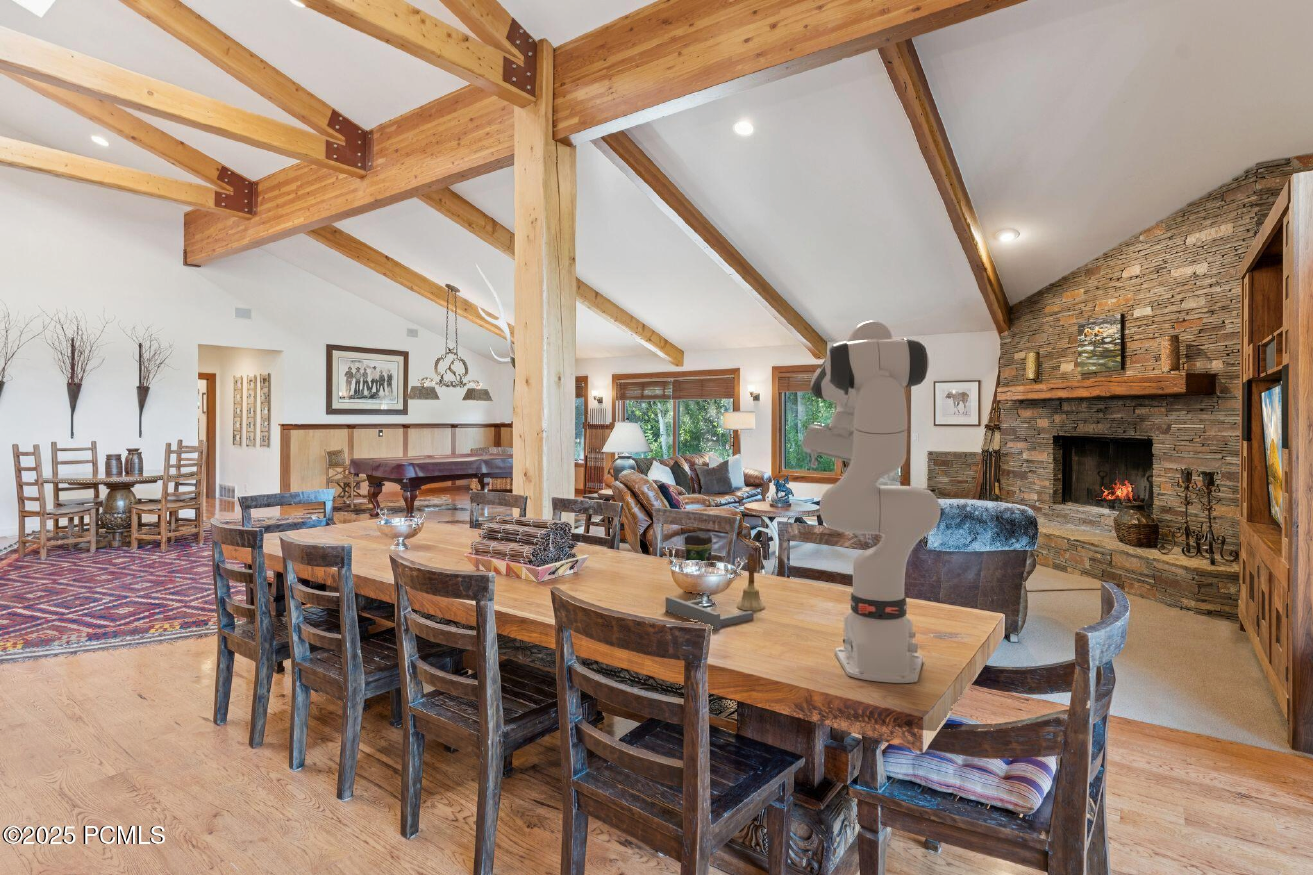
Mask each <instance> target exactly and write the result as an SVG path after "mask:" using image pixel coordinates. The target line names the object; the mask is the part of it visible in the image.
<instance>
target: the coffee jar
mask: <svg viewBox="0 0 1313 875" xmlns="http://www.w3.org/2000/svg"><path fill="white" fill-rule="evenodd" d="M712 538H713V537H712V534H711V533H710V532H709V531H702V530H701V531H699V530H698V531H696V532H692V533H689V534H687V535H685V536H684V550H685V553H684V554H685V561H686V560H701V561H711V562H712V563H713V561H712V558H713V557H712V551H713V550H712V548H713V539H712Z"/></svg>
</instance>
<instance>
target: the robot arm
mask: <svg viewBox="0 0 1313 875" xmlns="http://www.w3.org/2000/svg"><path fill="white" fill-rule="evenodd" d="M929 358H930V357H929V354H928V351H927V348H926V347H925V345H924V344H922V342H920V341H918V340H914V339H909V338H906V337H902V338H901V339H899V338H898V339H895V338H894V339H893V336H892V332H891V330H890V329H889V328H888V326H887V325H886V324H884V323H883V322H879V321H876V320H869V321H864V322H862V323H860V324H858V325H857V326H856V327H855V328H854V330H853V331H852V332H851V333H850V335H849V337H848V338H847V341H841V342H837V343H835V344H833V345H831V346H830V348H829V349H828V353H827V354H826V357H825V359H824V361H823V362H822V363H821V365H820V366H819V367H818V368H817V369H816V370H815V372H814V373H813V376H812V378H811V382H810V391H811V393H812V394H813V396H814V397H815V398H816V399H819V400H823V401H829V402H831V403H835V404H836V409H835V411H834V412H833V414H832V416H831V418H830V421H829V424H828V425H827V424H823V423H819V422H813V423H811V424H809V425H808V426H807V429H806V431H805V432H806V433H805V435H804V436H803V438H802V441H801V443H800V446H801V448H802V450H803V451H804V452H806V453H810V457H811V461H810V462H811V463H810V467H811V468H817V466H818V464H819V462H818V460H817V459H815V458H817V456H818V455H819V456H823V457H827V458H831V459H834V460H839V461H844V462H847V463H850V464H849V466H847V467H846V466H845V467H844V468H843V471H842V475H843V476H842V477H841V478H840V479H839V480H837V482H836V483H835V484H833V485H831V486H829V487H828V489H826V490H825V492H824V493H823V494H822V496H821V498H820V501H819V508H818V509H819V514H820V518H821V520H822V521H823V523H824V525H825V526H826V527H827V528H828V529H830V530H835V531H839V532H843V533H847V534H867V535H869V534H870V535H871V534H872V535H880V536H881V540H880V541H879V543H877V545H875V546H873V547H870V548H869V549H865V550H863V551H862V552H860V553H859V554H857V555H856V557H855V558H854V560H853V562H852V592H851V593H850V600H849V602H850V610H851V611H850V612H849V613H848V614H847V615H845V617H843V639H842V642H843V646H841V647H840V646H839V647H836V648H835V649H834V654H835V657H836V659H837V660H838V661H839V663H840V665H841V667H842V668H843V670H844V672H845V673H846V675H847V676H849V677H852V678H856V679H859V680H864V681H865V680H866V681H872V682H880V683H881V682H882V683H891V684H893V683H895V684H909V683H911V684H912V683H917V682H918V681H919V677H920V674H921V670H922V666H923V662H924V659H923V655H922V654H919V653H918V642H916V641H913V639H916V632H915V631H913V629H914V628H913V626H914V625H913V621H911V619H910V618H909V617H907V614H908V613H907V610H908V609H907V608H908V602H907V597H906V595H905V579H906V568H907V562H908V559H909V557H910V554H911V552H912V550H913V549H914V548H915V546H916V545H917V544H918V543H919V541H921V540H922V538H924V537H925V536H927V535H928V534H930V533H931V532H932V531H934V530H935V528H936V527H937V526H938V523H939V522H940V519H941V505H940V503H939V499H938V498H937V496H936V495H935V494H934V493H933V492H932V491H931V490H930V489H925V488H921V487H917V486H910V485H884V484H883V485H882V484H880V485H879V484H877V483H878V482H879V480H881V479H883V477H885V476H887V475H889V474H892V473H893V472H896V471H897V470H899V469H900V468H902V466H903V465H904V464H905V462H906V459H907V448H908V447H907V446H908V445H907V443H908V410H907V409H908V408H907V398H906V393H905V389H904V387H905V388H912V387H915V386H919V385H922V383H923V382H924V381H925V379H926V377H927V374H928V372H929V368H930V367H929V366H930V359H929Z"/></svg>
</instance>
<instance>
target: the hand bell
mask: <svg viewBox="0 0 1313 875" xmlns="http://www.w3.org/2000/svg"><path fill="white" fill-rule="evenodd" d="M746 566H747V572H748V583H747V586H745V587H744V588H743V589H742V595H741V599H740V601H739V602H738V603H737V604H736V608H737V609H739V610H741V611H746V612H747V611H751V612H756V611H763V610H765V609H766V605H765V604H764V603H763V601H762V599H761V595H760V591H759V588H758V587H756V586H755V573H756V572H755V571H756V568H757V558H756V556H755V552H754V551H751V552H749V554H748V556H747V564H746Z"/></svg>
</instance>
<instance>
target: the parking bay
mask: <svg viewBox="0 0 1313 875" xmlns="http://www.w3.org/2000/svg"><path fill="white" fill-rule="evenodd" d="M701 599H702V598H699V599H694V600H687V601H685V600H682V599H680V598H677V597H673V596H671V595H670V596H665V611H666V610H667V611H670V612H672V613H675V614H676V615H675V614H674V615H675V616H677V615H680V616H682V617H686V619H685V620H688V619H693V620H698V621H695V622H701V623H704V624H710V625H711V626H713V629H712V630H714V631H718V630H721V628H722V627H726V626H731V625H735V624H740V623H744V622H748V621H754V618H755V617H754V615H755V614H754V612H755V611H747V610H746V611H743V612H739V613H738V612H737V613H733V614H729V615H724V616H721V613H719V612H716V611H714V610H712V609H708V608H706V607H700V606H698V605H699V604H701V602H702V601H703V600H701ZM709 599H710V601H711V602H712V603H713V598H711V597H709ZM667 611H666V612H667ZM670 612H669V613H670ZM672 613H671V614H672ZM680 616H679V617H680ZM682 617H681V618H682ZM695 622H694V623H695Z"/></svg>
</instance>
